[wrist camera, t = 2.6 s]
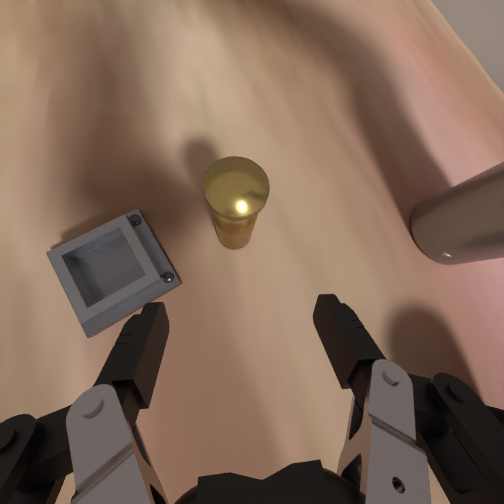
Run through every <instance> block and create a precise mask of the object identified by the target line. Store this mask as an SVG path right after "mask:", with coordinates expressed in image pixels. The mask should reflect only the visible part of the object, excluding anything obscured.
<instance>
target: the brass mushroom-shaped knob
mask: <svg viewBox="0 0 504 504" xmlns="http://www.w3.org/2000/svg"><path fill="white" fill-rule="evenodd" d="M203 190H204V195H205V199H206V201H207V203H208V205H209V207H210V208H211V209H212V211H213V216H214V221H215V226H216V230H217V235H218V239H219V241H220V243H221V244H222V245H223V246H224V247H226V248H228V249H232V250H236V249H240V248H243V247H244V246H245V245H247V243H248V242H249V240H250V237H251V234H252V231H253V228H254V225H255V222H256V219H257V215H258V213H259V212H260V211H261V210H262V209H263V207H264V206H265V203H266V201H267V198H268V195H269V180H268V177H267V175H266V173H265V172H264V170H263V169H262V168H261V167H260V166H259V165H258V164H257V163H255V162H253V161H252V160H250V159H247V158H244V157H237V156H233V157H226V158H223V159H220V160H218V161H217V162H215V163H214V164H213V165H212V166H211V167H210V168H209V169H208V170H207V172H206V174H205V176H204V180H203Z"/></svg>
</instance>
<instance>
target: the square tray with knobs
mask: <svg viewBox="0 0 504 504" xmlns="http://www.w3.org/2000/svg"><path fill="white" fill-rule="evenodd" d="M46 254H47V256H48V258H49V260H50V262H51V264H52V266H53V268H54V270H55V272H56V274H57V276H58V278H59V281H60V283H61V285H62V287H63V289H64V291H65V293H66V295H67V297H68V299H69V301H70V303H71V305H72V307H73V309H74V311H75V314H76V316H77V318H78V320H79V322H80V324H81V326H82V328H83V330H84V332H85V334H86V336H87V338H90V337H93V336H95V335H96V334H98V333H100V332H102V331H103V330H105V329H107V328H108V327H110V326H112V325H113V324H115V323H117V322H118V321H120V320H122V319H123V318H125V317H127V316H128V315H130V314H132V313H133V312H135V311H137V310H138V309H140V308H142V307H144V305H145V304H146V303H150V302H152V301H154V300H155V299H157V298H159V297H160V296H162V295H164V294H165V293H167V292H169V291H170V290H172V289H174V288H175V287H177V286H179V285H180V284H182V282H181V280H180V279H179V277H178V275H177V274H176V272H175V270H174V268H173V267H172V265H171V263H170V261H169V260H168V258H167V256H166V254H165V253H164V251H163V249H162V248H161V246H160V244H159V242H158V241H157V239H156V237H155V235H154V234H153V232H152V230H151V228H150V227H149V225H148V223H147V222H146V220H145V218H144V216H143V215H142V213H141V211H140V210H139V209H138V208H136V209H134V210H132V211H130V212H128V213H126V214H124V215H122V216H119V217H117V218H115V219H113V220H111V221H109V222H107V223H105V224H103V225H101V226H99V227H97V228H95V229H93V230H91V231H89V232H87V233H85V234H83V235H81V236H79V237H77V238H75V239H72V240H70V241H68V242H66V243H64V244H62V245H60V246H58V247H56V248H54V249H52V250H50V251H48V252H46Z"/></svg>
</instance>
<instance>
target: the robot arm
mask: <svg viewBox="0 0 504 504" xmlns="http://www.w3.org/2000/svg"><path fill="white" fill-rule="evenodd" d="M411 230H412V235H413V237H414V239H415V242H416V243H417V245H418V246H419V248H420V249H421V250H422V251H423V252H424V253H425V254H426V255H427V256H428V257H430V258H431V259H433V260H435V261H436V262H439V263H442V264H446V265H455V264H462V263H468V262H475V261H482V260H489V259H497V258H503V257H504V162H502V163H500V164H498V165H496V166H494V167H492V168H490V169H488V170H486V171H484V172H482V173H480V174H478V175H476V176H474V177H472V178H470V179H468V180H466V181H464V182H462V183H460V184H458V185H456V186H454V187H452V188H450V189H448V190H446V191H444V192H442V193H440V194H438V195H436V196H434V197H432V198H430V199H428V200H426V201H424V202H422V203H421V204H419V205H418V206H417V207H416V208H415V210H414V212H413V214H412V218H411ZM313 322H314V325H315V328H316V330H317V332H318V335H319V337H320V339H321V342H322V344H323V346H324V348H325V351H326V353H327V355H328V358H329V360H330V362H331V365H332V367H333V369H334V372H335V374H336V376H337V379H338V381H339V383H340V385H341V388H342V389H349V388H351V390H352V392H353V394H354V395H353V398H352V403H351V409H350V415H349V421H348V427H347V433H346V439H345V444H344V447H343V450H342V452H341V455H340V459H339V463H338V469H337V474H336V473H334V472H333V471H330V470H328V469H325V468H322V464H321V460H314V461H307V462H300V463H293V464H290V465H288V466H287V467H285V468H283V469H281V470H280V471H278V472H276V473H274V474H273V475H271V476H269V477H267V478H266V479H263V480H259V479H255V478H251V477H247V476H242V475H238V474H234V473H222V474H215V475H208V476H201V477H198V485H197V486H195V487H193V488H191V489H190V490H189V491H187V492H186V493H185V494H183V495H182V496H181V497H180V498H179V499H178V500H177V501H176V502H175V503H174V504H431V494H430V483H429V472H428V463H429V465H430V467H431V469H432V471H433V473H434V474H435V476H436V478H437V480H438V482H439V483H440V485H441V487H442V489H443V491H444V493H445V494H446V496H447V498H448V500H449V502H450V504H504V426H503V425H502V424H501V423H500V422H499V420H498V419H497V418H496V417H495V416H494V415H493V413H492V412H491V411H490V410H489V409H488V408H487V407H486V405H485V404H484V403H483V402H482V401H481V400H480V398H479V397H478V396H477V395H476V394H475V393H474V391H473V390H472V389H471V388H470V387H469V386H467V385H466V384H465V383H464V382H462V381H461V380H459V379H458V378H456V377H454V376H452V375H449V374H445V373H439V374H436V375H435V376H434V377H433V378H432V379H428V378H424V377H420V376H416V375H411V374H408V373H406V372H405V371H404V370H403V369H402V368H401V367H400V366H398V365H397V364H395V363H394V362H391V361H389V360H387V359H386V358H385V357H384V355H383V354H382V352H381V351H380V349H379V348H378V346H377V345H376V343H375V342H374V340H373V339H372V337H371V336H370V334H369V333H368V331H367V330H366V329H365V328H364V325H363V324H362V322H361V321H359V318H358V317H357V315H356V314H355V312H354V311H353V310H352V309H351V308H350V307H349V306H347V305H346V304H345V303H340V301H339V300H338V298H337V297H336V295H335V294H320V295H319V296H318V298H317V302H316V305H315V309H314V312H313ZM168 334H169V320H168V317H167V313H166V309H165V305H164V303H163V302H153V303H146V304H145V305H144V307H143V309H142V312H141V314H136V315H133V316H132V317H131V318H130V319H129V320H128V321H127V322H126V323H125V324H124V326H123V328H122V330H121V332H120V334H119V337H118V338H117V340H116V342H115V346H113V348H112V350H111V352H110V354H109V356H108V358H107V360H106V362H105V364H104V366H103V368H102V370H101V372H100V374H99V376H98V378H97V380H96V382H95V384H94V385H93V387H92V388H90V389H88V390H87V391H85V392H84V393H83V394H81V395H80V396H79V397H78V398H77V399H76V400H75V402H74V403H73V404H71V405H70V406H67V407H65V408H63V409H60V410H58V411H55V412H53V413H50V414H48V415H45V416H43V417H40V418H38V419H35V418H34V417H33V416H31V415H29V414H21V415H17V416H14V417H11V418H9V419H7V420H5V421H4V422H2V423H0V504H55V502H56V499H57V497H58V494H59V492H60V490H61V487H62V485H63V482H64V480H65V477H66V475H68V474H70V473H72V472H74V478H75V485H76V491H75V494H74V495H73V497H72V499H71V504H169V503H168V500H167V498H166V495H165V492H164V490H163V487H162V485H161V483H160V480H159V478H158V476H157V474H156V472H155V470H154V468H153V465H152V463H151V460H150V458H149V455H148V452H147V450H146V447H145V444H144V442H143V439H142V437H141V434H140V431H139V429H138V426H137V423H136V419H137V416H138V413H139V409H148V408H149V405H150V401H151V398H152V394H153V390H154V386H155V383H156V379H157V375H158V372H159V368H160V364H161V360H162V357H163V353H164V349H165V346H166V342H167V338H168ZM452 431H454V432H455V434H456V435H457V437H458V438H459V440H460V441H461V443H462V444H463V446H464V447H465V448H466V450H467V451H468V453H469V454H470V456H471V457H472V459H473V460H474V462H475V463H476V464H477V466H478V467H479V469H480V471H481V473H482V475H483V476H482V475H481V473H480V472H479V470H478V469H477V467H476V466H475V464H474V463H473V462H472V460H471V459H470V457H469V456H468V454H467V453H466V451H465V450H464V448H463V447H462V445H461V444H460V442H459V441H458V440H457V438H456V437H455V435H454V434H453V432H452ZM417 443H418V444H417Z"/></svg>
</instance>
